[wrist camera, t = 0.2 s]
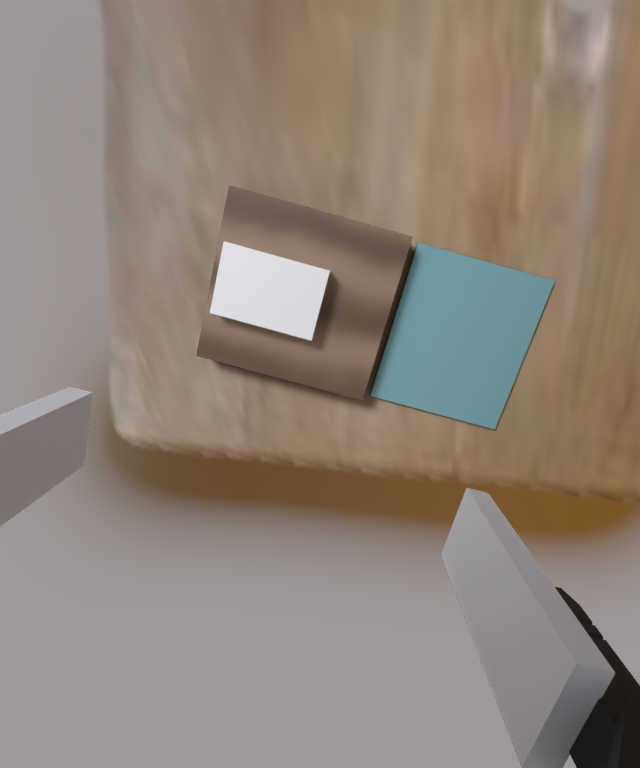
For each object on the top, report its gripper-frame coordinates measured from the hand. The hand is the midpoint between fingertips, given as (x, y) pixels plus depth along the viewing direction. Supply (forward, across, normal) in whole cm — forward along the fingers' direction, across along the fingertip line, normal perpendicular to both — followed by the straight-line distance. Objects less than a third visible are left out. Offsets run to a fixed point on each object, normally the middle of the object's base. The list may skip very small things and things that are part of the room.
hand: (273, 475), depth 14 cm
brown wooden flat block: (+27, -2, +4) cm, 28 cm away
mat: (+27, +13, +4) cm, 30 cm away
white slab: (+24, -5, +4) cm, 25 cm away
